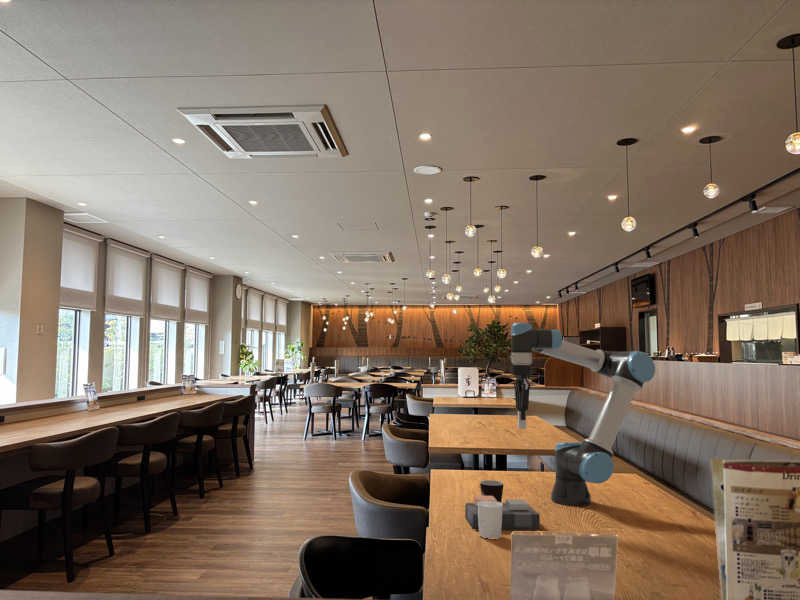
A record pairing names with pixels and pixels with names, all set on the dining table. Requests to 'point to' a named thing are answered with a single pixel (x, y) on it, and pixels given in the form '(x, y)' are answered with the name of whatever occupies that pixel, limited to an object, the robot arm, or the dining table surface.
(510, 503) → the light grey cube
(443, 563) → the dining table surface
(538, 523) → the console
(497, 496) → the coffee mug
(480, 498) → the salmon orange cube
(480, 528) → the white cup
